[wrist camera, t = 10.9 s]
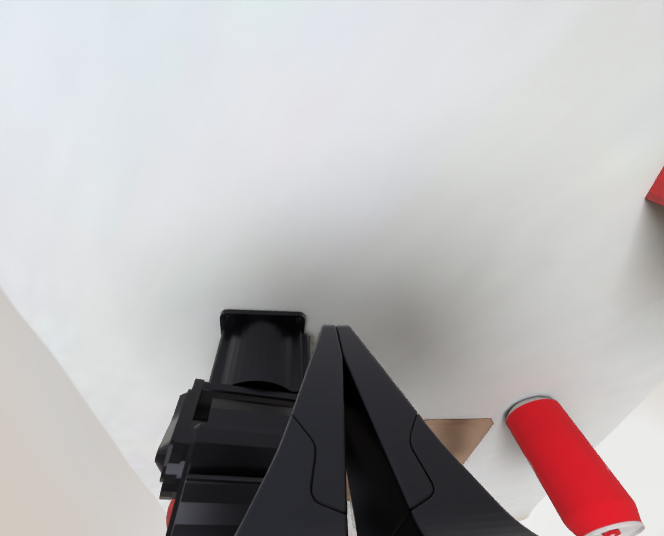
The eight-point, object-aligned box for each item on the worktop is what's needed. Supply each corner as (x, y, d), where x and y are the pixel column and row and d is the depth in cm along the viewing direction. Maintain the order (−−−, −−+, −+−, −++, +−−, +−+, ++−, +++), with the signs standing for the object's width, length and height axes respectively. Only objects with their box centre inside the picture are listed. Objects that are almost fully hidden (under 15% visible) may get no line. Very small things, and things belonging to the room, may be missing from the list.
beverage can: (512, 428, 39) (584, 553, 30) (495, 409, 36) (569, 540, 26) (561, 407, 38) (655, 532, 28) (547, 385, 35) (648, 517, 25)
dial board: (282, 499, 45) (282, 505, 44) (290, 422, 34) (290, 429, 33) (438, 490, 48) (440, 495, 48) (491, 418, 37) (494, 424, 37)
